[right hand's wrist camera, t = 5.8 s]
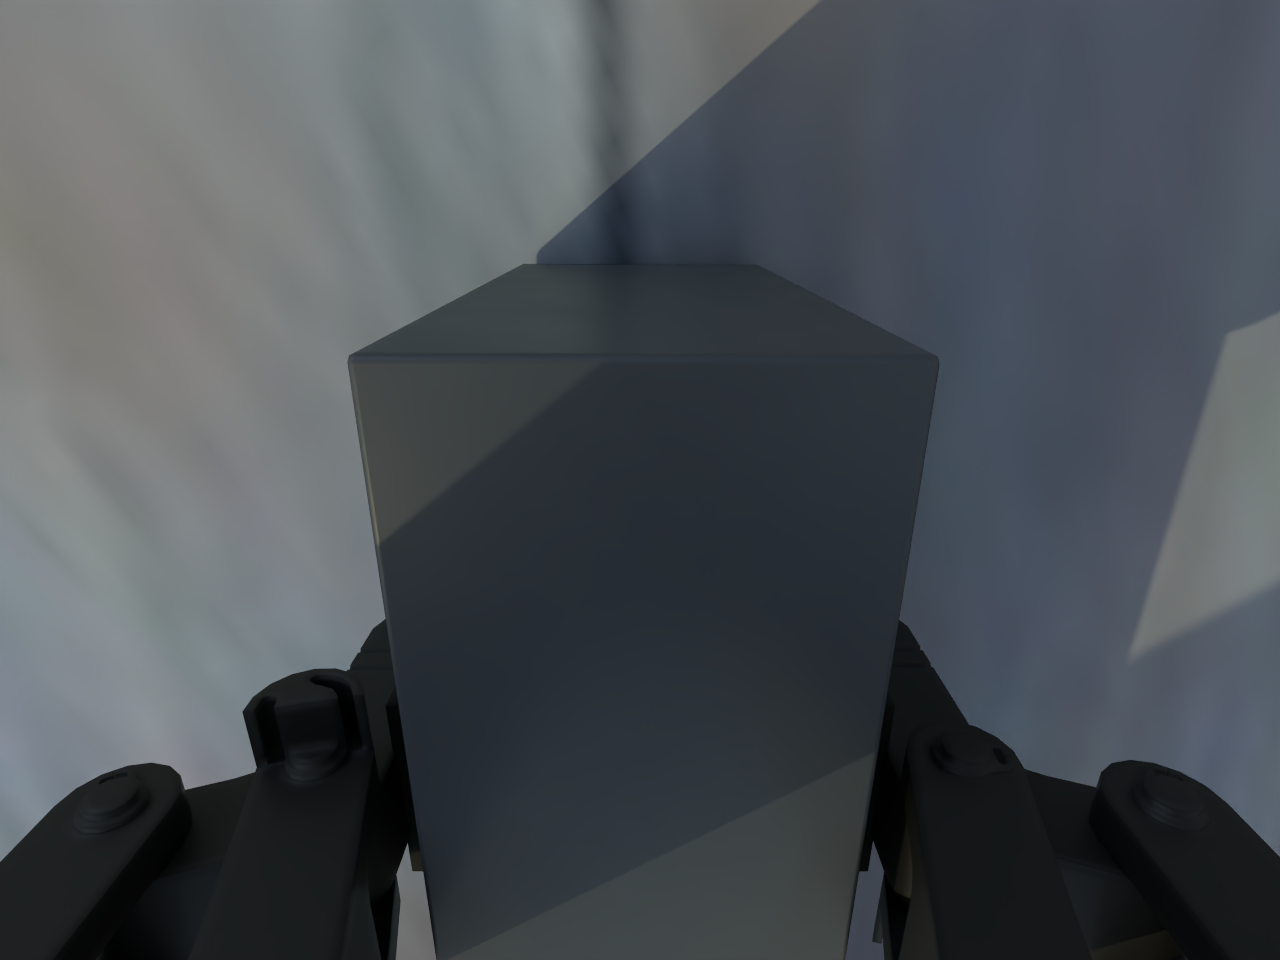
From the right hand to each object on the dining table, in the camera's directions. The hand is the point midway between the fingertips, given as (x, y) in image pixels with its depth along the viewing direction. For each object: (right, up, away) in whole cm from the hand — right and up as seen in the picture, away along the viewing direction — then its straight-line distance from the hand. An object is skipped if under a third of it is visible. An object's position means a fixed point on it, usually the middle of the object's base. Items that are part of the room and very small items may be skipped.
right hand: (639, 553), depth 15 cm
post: (0, -33, +14) cm, 36 cm away
